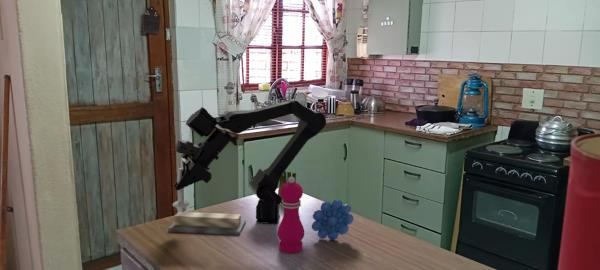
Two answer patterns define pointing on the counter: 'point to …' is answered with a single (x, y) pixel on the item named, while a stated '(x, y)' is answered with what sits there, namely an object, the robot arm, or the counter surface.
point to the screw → (180, 196)
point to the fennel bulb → (285, 180)
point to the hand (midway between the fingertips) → (175, 188)
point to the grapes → (332, 219)
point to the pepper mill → (291, 218)
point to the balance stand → (207, 223)
